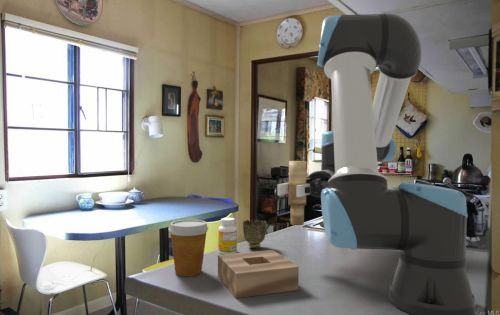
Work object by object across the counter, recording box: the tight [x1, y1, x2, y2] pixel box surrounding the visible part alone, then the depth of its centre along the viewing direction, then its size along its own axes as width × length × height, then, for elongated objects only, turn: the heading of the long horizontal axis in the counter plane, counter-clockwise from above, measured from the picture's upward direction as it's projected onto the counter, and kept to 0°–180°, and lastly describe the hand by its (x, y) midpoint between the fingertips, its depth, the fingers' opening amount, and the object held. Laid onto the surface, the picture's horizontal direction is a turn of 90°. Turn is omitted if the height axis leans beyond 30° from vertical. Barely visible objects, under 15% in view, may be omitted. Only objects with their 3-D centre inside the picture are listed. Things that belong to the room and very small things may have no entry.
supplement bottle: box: [217, 217, 238, 255], centre depth 110 cm, size 5×5×10 cm
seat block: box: [217, 249, 300, 299], centre depth 85 cm, size 14×14×5 cm
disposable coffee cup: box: [168, 219, 209, 277], centre depth 92 cm, size 10×10×12 cm
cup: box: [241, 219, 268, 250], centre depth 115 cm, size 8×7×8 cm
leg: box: [287, 160, 307, 226], centre depth 97 cm, size 5×5×16 cm
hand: (288, 190), depth 92 cm, fingers closed on leg, 4 cm apart
